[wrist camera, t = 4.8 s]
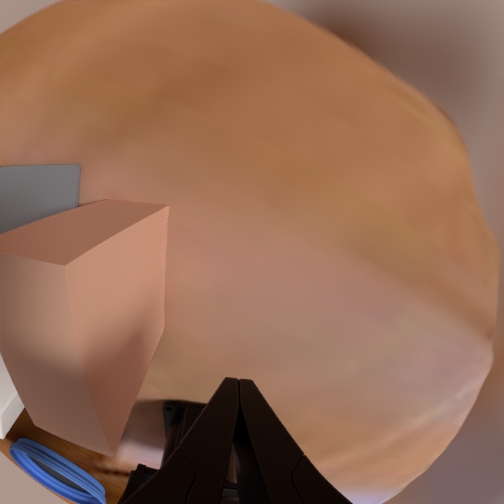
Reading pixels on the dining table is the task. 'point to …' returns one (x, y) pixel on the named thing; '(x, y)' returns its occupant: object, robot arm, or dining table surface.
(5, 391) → the medicine bottle
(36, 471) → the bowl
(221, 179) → the dining table surface
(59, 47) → the dining table surface
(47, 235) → the terracotta block
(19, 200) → the mat
